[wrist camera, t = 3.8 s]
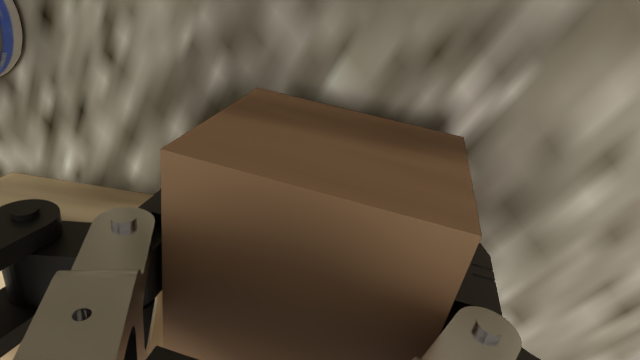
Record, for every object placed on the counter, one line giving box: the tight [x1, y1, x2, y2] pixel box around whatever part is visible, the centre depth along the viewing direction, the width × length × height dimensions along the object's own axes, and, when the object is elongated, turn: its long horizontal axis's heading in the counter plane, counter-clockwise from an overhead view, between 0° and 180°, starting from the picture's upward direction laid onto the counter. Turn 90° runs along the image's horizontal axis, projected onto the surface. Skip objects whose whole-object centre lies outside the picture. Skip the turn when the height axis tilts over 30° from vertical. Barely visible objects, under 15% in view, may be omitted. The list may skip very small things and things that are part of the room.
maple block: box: [0, 172, 163, 360], centre depth 18 cm, size 8×8×5 cm
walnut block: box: [161, 88, 482, 360], centre depth 11 cm, size 6×6×5 cm
